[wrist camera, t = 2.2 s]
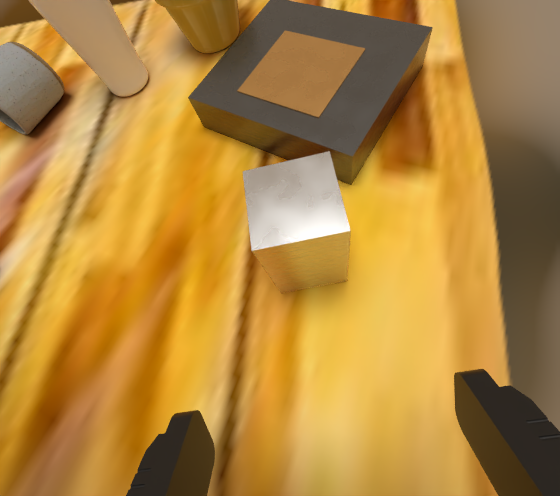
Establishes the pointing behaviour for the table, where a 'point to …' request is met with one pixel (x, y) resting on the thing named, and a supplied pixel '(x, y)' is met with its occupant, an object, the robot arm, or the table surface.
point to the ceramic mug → (26, 87)
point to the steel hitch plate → (312, 82)
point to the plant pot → (206, 22)
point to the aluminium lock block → (298, 222)
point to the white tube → (97, 41)
